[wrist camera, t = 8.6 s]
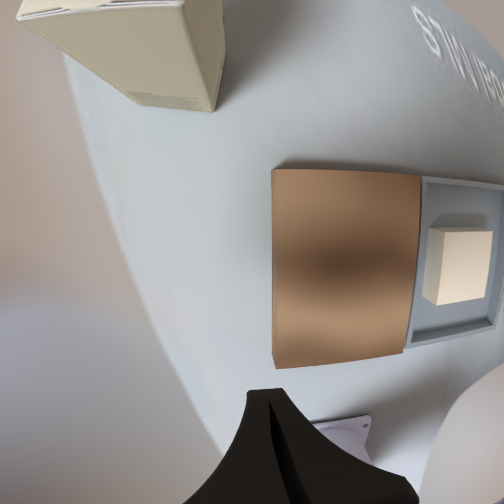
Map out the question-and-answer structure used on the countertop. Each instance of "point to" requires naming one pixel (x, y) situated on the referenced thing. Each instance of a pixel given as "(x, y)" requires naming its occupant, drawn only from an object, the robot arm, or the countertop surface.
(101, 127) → the countertop surface
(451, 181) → the tray
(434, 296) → the tile
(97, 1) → the box
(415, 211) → the plate
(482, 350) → the countertop surface
